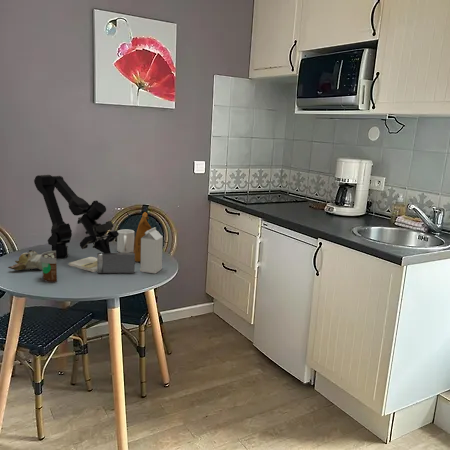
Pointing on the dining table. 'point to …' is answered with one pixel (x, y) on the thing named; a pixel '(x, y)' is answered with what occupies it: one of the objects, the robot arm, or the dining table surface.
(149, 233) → the milk carton
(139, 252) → the coffee package
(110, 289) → the dining table surface
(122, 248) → the mug
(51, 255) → the food container
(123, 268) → the swing panel
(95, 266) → the label board
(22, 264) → the ceramic sculpture
